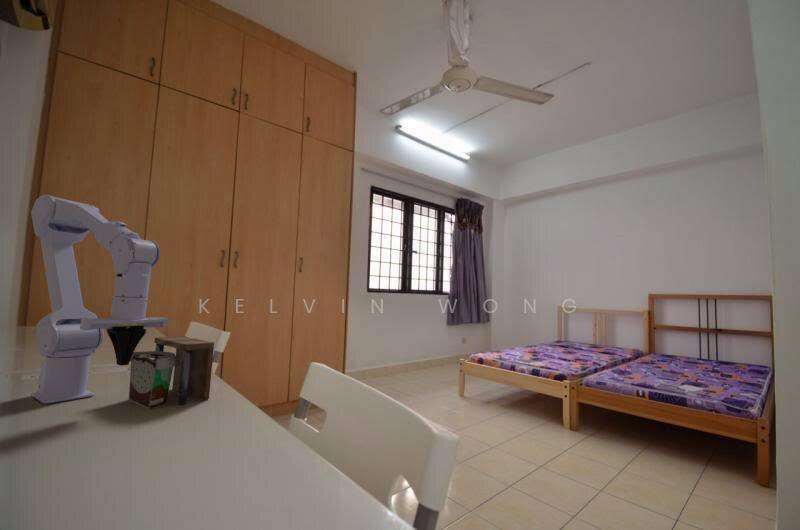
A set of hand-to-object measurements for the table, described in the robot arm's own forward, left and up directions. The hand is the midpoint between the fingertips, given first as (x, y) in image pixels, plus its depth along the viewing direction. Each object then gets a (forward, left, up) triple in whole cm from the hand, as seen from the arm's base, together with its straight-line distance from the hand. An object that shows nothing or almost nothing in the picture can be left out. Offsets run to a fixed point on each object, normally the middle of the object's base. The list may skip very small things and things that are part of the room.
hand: (122, 364), depth 73 cm
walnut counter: (0, +11, -9) cm, 14 cm away
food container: (0, +7, -9) cm, 11 cm away
